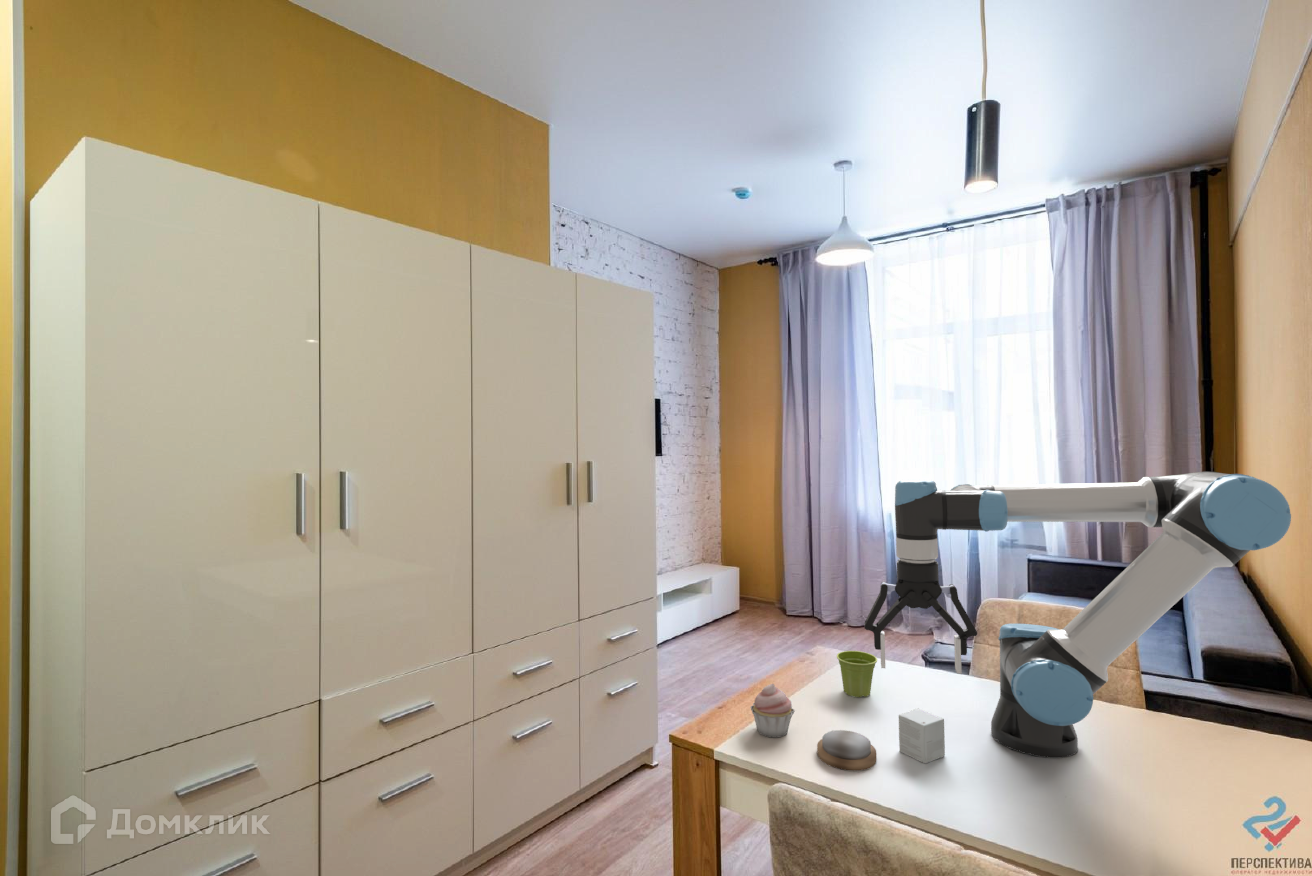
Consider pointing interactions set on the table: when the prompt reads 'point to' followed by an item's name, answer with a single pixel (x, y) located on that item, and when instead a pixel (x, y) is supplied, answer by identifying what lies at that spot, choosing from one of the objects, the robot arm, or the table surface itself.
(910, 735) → the product box
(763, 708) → the cupcake
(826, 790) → the table surface
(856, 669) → the plant pot
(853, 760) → the pedestal
